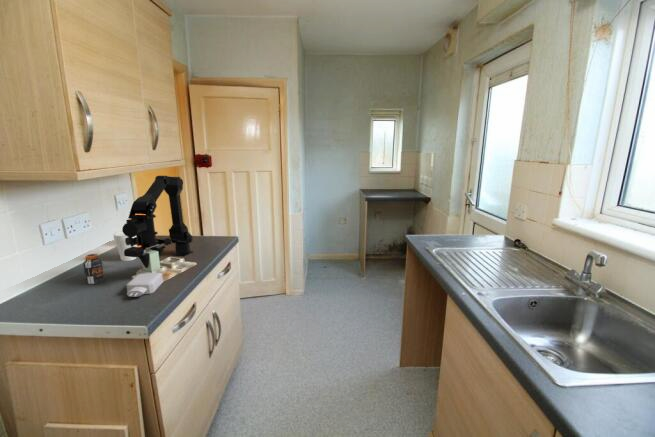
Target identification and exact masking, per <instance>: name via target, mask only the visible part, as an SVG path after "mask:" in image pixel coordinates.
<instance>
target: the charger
mask: <svg viewBox="0 0 655 437" xmlns="http://www.w3.org/2000/svg"><path fill="white" fill-rule="evenodd" d="M162 284H164V282H163V278H162V274H161V273H142V274H138V275H137V276H136V277H135V278H134V279H133V278H131V280H130V281H129V282H127V283H126V292H127V293H126V295H127V296H128V297H133V298H134V297H136V298H137V297H140V296H143V295H151V294H153V293H154V292H156V290H157V289H159V287H160V286H161V285H162Z"/></svg>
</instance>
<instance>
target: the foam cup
mask: <svg viewBox="0 0 655 437" xmlns="http://www.w3.org/2000/svg"><path fill="white" fill-rule="evenodd" d="M112 235H113V240H114V241H115V244H116V248H117V251H118V254H119V258H120V260H121V261H122V262H127V261H133V260H135V259H137V257H128V256H125V255H124V251H125V249H127V248H130V247H131V245H126V243H125V238H128V237H127V236H126V235H125V234H124V233H123V231H117V232H115V233H113V234H112ZM135 237H137V236H134V237H132V238H135ZM132 247H137V244H136V245H134V246H132Z"/></svg>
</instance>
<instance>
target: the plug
mask: <svg viewBox="0 0 655 437" xmlns="http://www.w3.org/2000/svg"><path fill="white" fill-rule="evenodd" d="M146 252H147V253H149V265H148V268H145V266H144V265H143V263H142V262H141V263H142V269H143V271H144V272H151V273H152V272H154V271H156V270H158V269H160V261H161V260H160V258H159V253H158V251H153V250H151V249H150V250H149V249H148V250H146Z"/></svg>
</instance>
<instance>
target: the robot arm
mask: <svg viewBox="0 0 655 437" xmlns="http://www.w3.org/2000/svg"><path fill="white" fill-rule="evenodd" d="M183 187H184V180H183V179H182V178H181V177H180V176H170V175H157V176H155V178H154V181H153V182H152V184H151V185H150V186H149V188H148V189H147V190H146V192H145V193H144V194H143V195H141V196H139V197H137V199H135V200H134V201H133V202H132V205H131V208H130V211H129V214H128V219H126V223H124V225H123V226H122V229H121V230H122V231H123V233H124V234H125V235H126V236H127V237H128V238H125V243H126V245H131V247H130V248H127V249H125V251H124V255H125V256H128V257H136V258H138V259H139V260H140V261H141V263H143V265H144V266H145V268H148V265H149V253H147V252H146V251H148V250H149V249H150V250H153V251H158V253H159V259H160V258H161V255H162V254H163V252H164V250H165V249H166V246H168V245H172V244H175V248H174V249H175V253H173V255H175V256H181V257H182V256H183V257H184V256H187V255H189V254H191V253H193V250H191V247H190V244H191V243H192V242H193V236H192V234H191V233H190V232H189V228H188V225H186V224H185V223H184V217H183V209H182V201H181V193H182V191H183V189H184V188H183ZM163 192H165V193H166V194H167V195H168V201H169V207H170V216H171V223H172V224H171V226H170V228H168V233H169V237H167V236H160V237H156V235H158V231H156V229H155V220H154V219H155V218H156V217H157V216H156V215H155V214H154V212H156V209H157V201H158V199H159V198H160V196H161V195H162V193H163ZM135 214H145V215H135ZM134 236H137V237H135V238H132V237H134ZM136 244H137V246H141V247H132V246H134V245H136ZM143 265H142V266H143Z"/></svg>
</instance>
